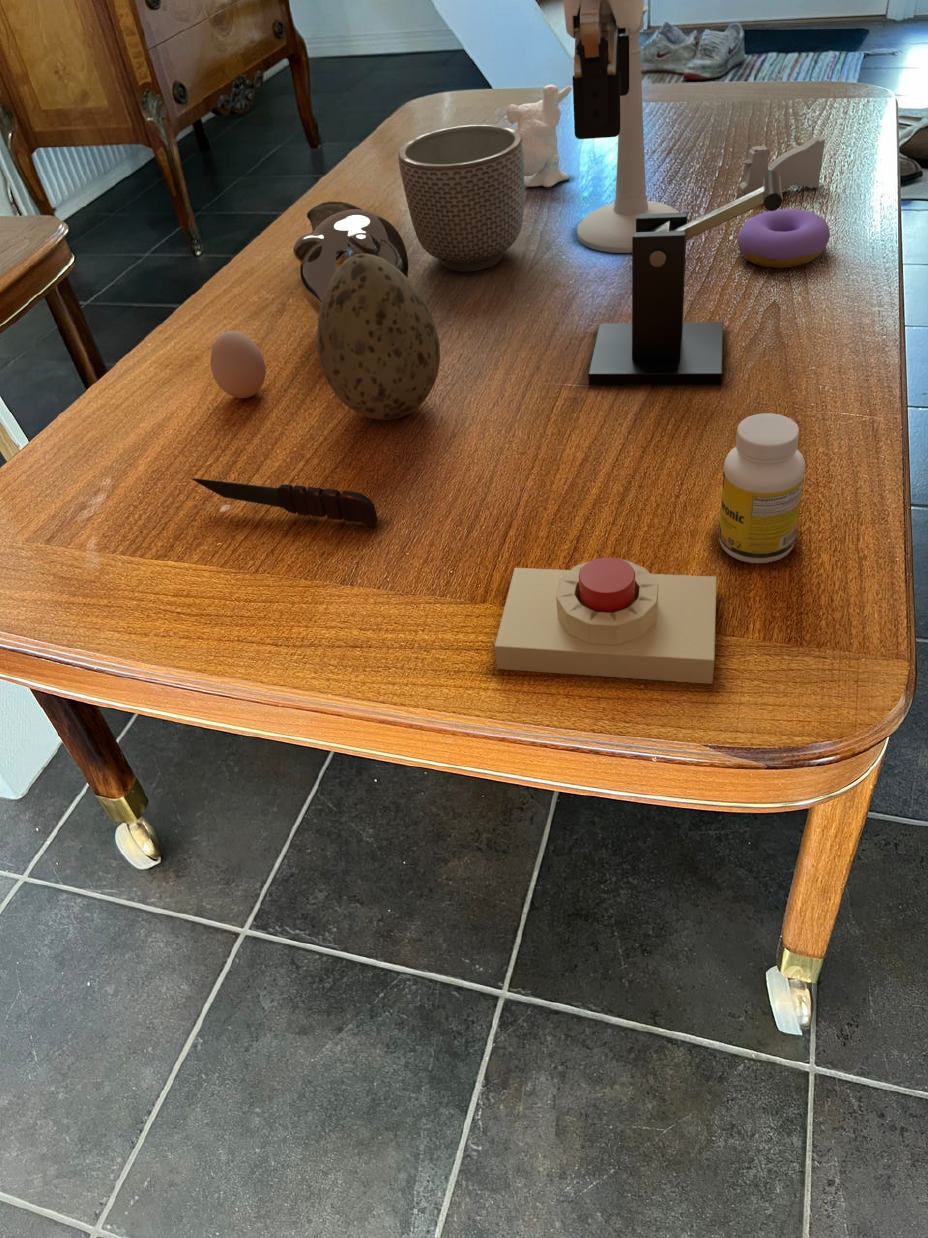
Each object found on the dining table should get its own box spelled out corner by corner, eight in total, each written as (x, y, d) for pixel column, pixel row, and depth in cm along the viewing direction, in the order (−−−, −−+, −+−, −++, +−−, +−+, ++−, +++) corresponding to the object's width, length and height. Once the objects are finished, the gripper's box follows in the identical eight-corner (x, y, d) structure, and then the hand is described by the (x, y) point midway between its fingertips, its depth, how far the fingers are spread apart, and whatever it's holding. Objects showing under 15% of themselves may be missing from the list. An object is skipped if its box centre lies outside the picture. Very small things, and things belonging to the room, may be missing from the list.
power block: (714, 600, 66) (718, 555, 64) (712, 684, 61) (716, 639, 58) (516, 590, 70) (512, 547, 67) (497, 669, 64) (491, 626, 61)
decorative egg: (322, 403, 93) (284, 251, 83) (425, 372, 95) (400, 220, 85) (354, 457, 85) (316, 296, 75) (465, 421, 87) (443, 260, 77)
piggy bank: (293, 357, 100) (265, 250, 93) (337, 293, 111) (315, 192, 103) (394, 357, 98) (373, 247, 90) (429, 292, 108) (414, 187, 100)
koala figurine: (578, 173, 130) (574, 75, 122) (571, 191, 126) (567, 91, 118) (517, 175, 132) (510, 80, 124) (508, 194, 128) (500, 95, 120)
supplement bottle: (711, 523, 72) (719, 411, 66) (783, 516, 72) (799, 402, 65) (726, 569, 68) (736, 454, 62) (802, 562, 68) (821, 446, 61)
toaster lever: (784, 188, 81) (775, 162, 80) (786, 211, 78) (776, 184, 76) (652, 252, 87) (641, 228, 86) (648, 275, 84) (637, 251, 82)
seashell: (317, 234, 124) (318, 178, 119) (386, 244, 124) (389, 188, 120) (291, 287, 112) (291, 227, 107) (367, 297, 112) (370, 238, 108)
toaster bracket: (722, 332, 94) (732, 199, 85) (721, 385, 87) (731, 245, 78) (599, 334, 96) (597, 205, 88) (588, 385, 89) (584, 250, 81)
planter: (536, 232, 117) (529, 118, 108) (524, 282, 107) (515, 161, 98) (426, 239, 120) (410, 128, 111) (404, 288, 110) (385, 170, 101)
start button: (637, 578, 64) (637, 557, 62) (632, 614, 61) (632, 594, 60) (583, 575, 64) (582, 555, 63) (576, 611, 62) (575, 591, 61)
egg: (282, 392, 95) (264, 329, 91) (238, 414, 93) (218, 350, 88) (255, 377, 98) (236, 314, 94) (212, 397, 96) (191, 335, 92)
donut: (801, 277, 99) (797, 229, 97) (723, 277, 106) (718, 233, 103) (847, 241, 104) (845, 195, 101) (770, 244, 110) (766, 201, 108)
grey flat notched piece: (818, 188, 117) (739, 201, 117) (813, 184, 118) (734, 197, 118) (825, 138, 113) (743, 151, 113) (820, 135, 114) (739, 148, 114)
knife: (197, 506, 82) (186, 478, 80) (202, 500, 83) (192, 471, 81) (375, 529, 77) (368, 498, 75) (379, 522, 78) (372, 491, 76)
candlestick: (648, 201, 120) (653, -92, 100) (707, 233, 111) (724, -83, 91) (558, 228, 117) (543, -68, 97) (610, 262, 108) (606, -56, 88)
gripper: (652, -176, 53) (648, 151, 65) (664, -201, 65) (659, 78, 77) (518, -158, 55) (538, 158, 66) (554, -185, 67) (566, 85, 78)
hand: (603, 114), depth 71 cm, fingers open, 9 cm apart
